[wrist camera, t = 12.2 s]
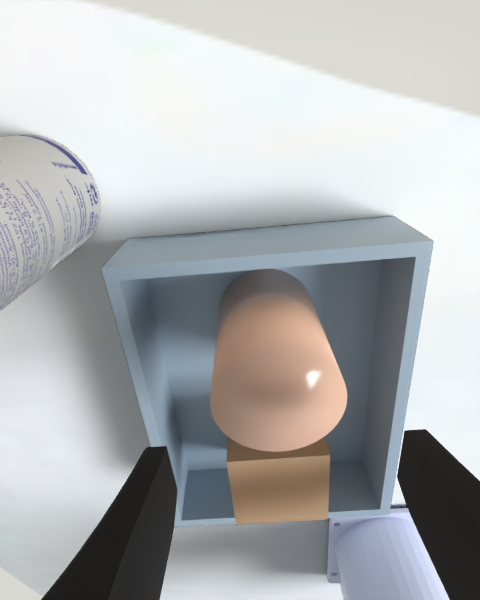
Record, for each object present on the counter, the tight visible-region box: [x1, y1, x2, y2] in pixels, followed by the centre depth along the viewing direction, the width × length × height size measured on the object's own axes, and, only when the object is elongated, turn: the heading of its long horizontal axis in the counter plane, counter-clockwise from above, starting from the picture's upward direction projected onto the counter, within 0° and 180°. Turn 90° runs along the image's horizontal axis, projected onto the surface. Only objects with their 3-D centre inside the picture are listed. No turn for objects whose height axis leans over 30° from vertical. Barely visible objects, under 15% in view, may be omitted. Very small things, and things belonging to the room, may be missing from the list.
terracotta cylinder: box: [210, 269, 347, 452], centre depth 16 cm, size 5×5×7 cm
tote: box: [101, 216, 434, 527], centre depth 20 cm, size 17×13×4 cm
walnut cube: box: [226, 436, 330, 525], centre depth 21 cm, size 5×5×5 cm
